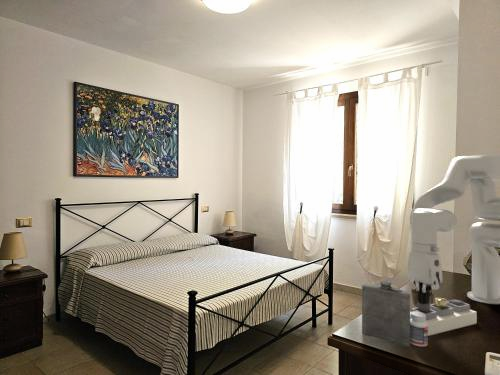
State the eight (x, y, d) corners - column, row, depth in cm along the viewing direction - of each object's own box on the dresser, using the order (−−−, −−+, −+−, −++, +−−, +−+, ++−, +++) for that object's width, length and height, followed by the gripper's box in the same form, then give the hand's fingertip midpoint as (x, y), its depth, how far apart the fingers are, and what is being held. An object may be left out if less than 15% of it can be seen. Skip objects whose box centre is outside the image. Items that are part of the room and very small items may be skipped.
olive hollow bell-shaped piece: (436, 317, 119) (436, 295, 119) (414, 315, 120) (414, 294, 120) (429, 309, 126) (430, 288, 126) (409, 308, 128) (409, 287, 127)
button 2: (455, 306, 119) (455, 299, 119) (465, 309, 115) (465, 302, 115) (448, 307, 117) (448, 300, 117) (458, 311, 114) (458, 303, 114)
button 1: (423, 307, 113) (423, 300, 113) (432, 311, 109) (432, 303, 109) (415, 309, 111) (415, 301, 111) (424, 313, 108) (424, 305, 108)
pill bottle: (427, 348, 97) (427, 318, 97) (407, 344, 100) (407, 315, 100) (428, 341, 102) (428, 312, 101) (409, 337, 104) (409, 309, 104)
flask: (364, 330, 109) (364, 276, 109) (411, 342, 101) (411, 284, 100) (360, 334, 107) (360, 278, 106) (408, 347, 98) (409, 287, 97)
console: (451, 313, 122) (452, 297, 122) (476, 323, 114) (476, 306, 113) (404, 324, 113) (405, 307, 113) (427, 335, 105) (427, 317, 105)
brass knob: (439, 304, 116) (439, 296, 116) (449, 307, 112) (449, 299, 112) (432, 305, 114) (432, 297, 114) (441, 309, 111) (441, 301, 111)
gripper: (453, 251, 104) (452, 309, 105) (413, 243, 118) (413, 294, 118) (435, 253, 101) (435, 312, 102) (397, 244, 115) (397, 297, 116)
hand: (423, 302), depth 110 cm, fingers closed
